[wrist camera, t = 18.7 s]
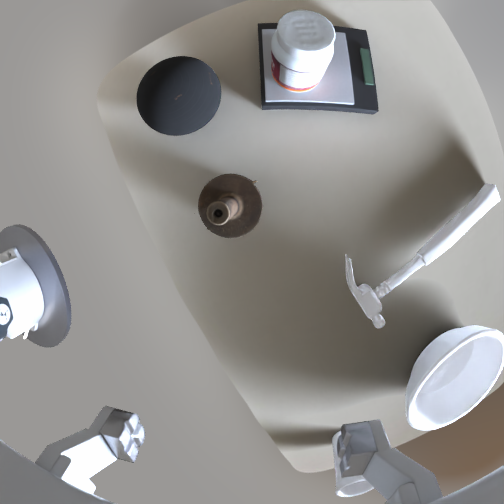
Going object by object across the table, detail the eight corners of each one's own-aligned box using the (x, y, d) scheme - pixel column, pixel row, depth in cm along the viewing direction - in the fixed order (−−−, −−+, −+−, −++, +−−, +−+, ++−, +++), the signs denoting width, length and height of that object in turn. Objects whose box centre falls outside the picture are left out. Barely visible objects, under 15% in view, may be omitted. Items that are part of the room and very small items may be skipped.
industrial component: (249, 163, 34) (238, 155, 23) (275, 213, 36) (277, 229, 24) (187, 198, 36) (150, 207, 24) (212, 245, 37) (187, 274, 26)
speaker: (242, 98, 32) (232, 71, 22) (192, 155, 34) (165, 147, 25) (189, 61, 31) (164, 30, 21) (143, 114, 33) (105, 99, 24)
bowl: (495, 342, 38) (515, 361, 30) (423, 415, 44) (435, 440, 36) (459, 283, 36) (487, 303, 28) (368, 378, 41) (381, 410, 33)
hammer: (331, 263, 37) (336, 270, 34) (471, 149, 31) (482, 148, 28) (371, 323, 39) (377, 333, 36) (497, 213, 32) (508, 216, 30)
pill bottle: (275, 48, 28) (276, -1, 17) (324, 58, 28) (343, 14, 17) (267, 88, 29) (264, 48, 18) (317, 99, 29) (337, 64, 18)
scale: (262, 109, 32) (261, 104, 30) (258, 30, 29) (257, 21, 27) (373, 114, 31) (380, 110, 29) (362, 36, 28) (367, 28, 25)
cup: (360, 442, 46) (372, 492, 33) (325, 447, 47) (332, 499, 33) (368, 421, 44) (384, 474, 31) (329, 426, 45) (339, 483, 31)
